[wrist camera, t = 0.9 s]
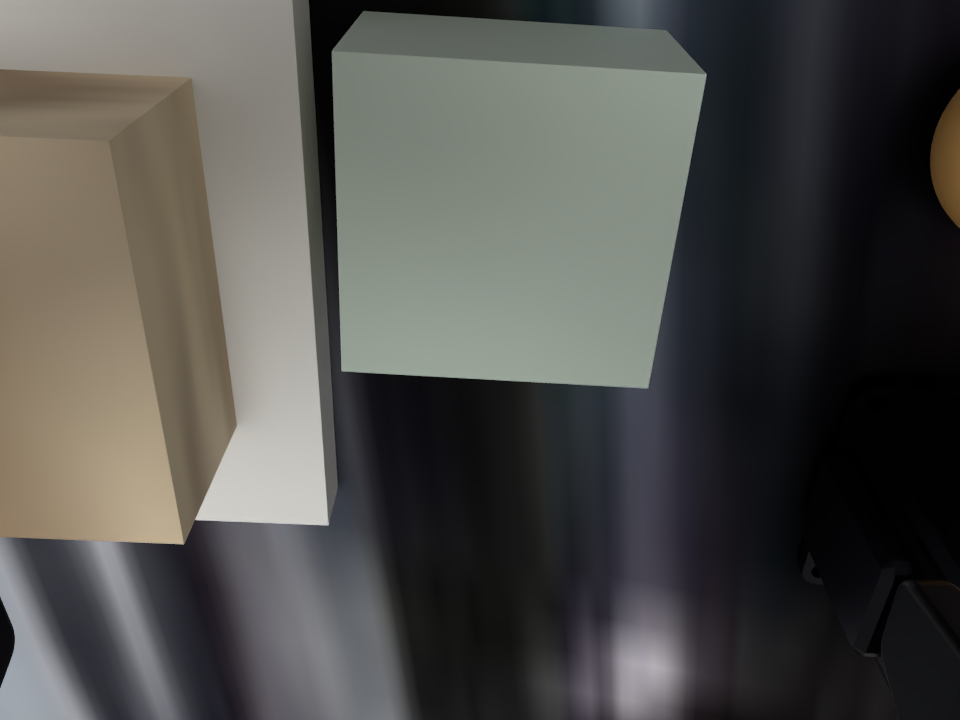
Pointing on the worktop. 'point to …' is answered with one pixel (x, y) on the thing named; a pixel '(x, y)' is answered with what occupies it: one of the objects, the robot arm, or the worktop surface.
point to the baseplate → (234, 215)
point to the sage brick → (508, 195)
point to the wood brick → (107, 310)
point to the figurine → (947, 159)
